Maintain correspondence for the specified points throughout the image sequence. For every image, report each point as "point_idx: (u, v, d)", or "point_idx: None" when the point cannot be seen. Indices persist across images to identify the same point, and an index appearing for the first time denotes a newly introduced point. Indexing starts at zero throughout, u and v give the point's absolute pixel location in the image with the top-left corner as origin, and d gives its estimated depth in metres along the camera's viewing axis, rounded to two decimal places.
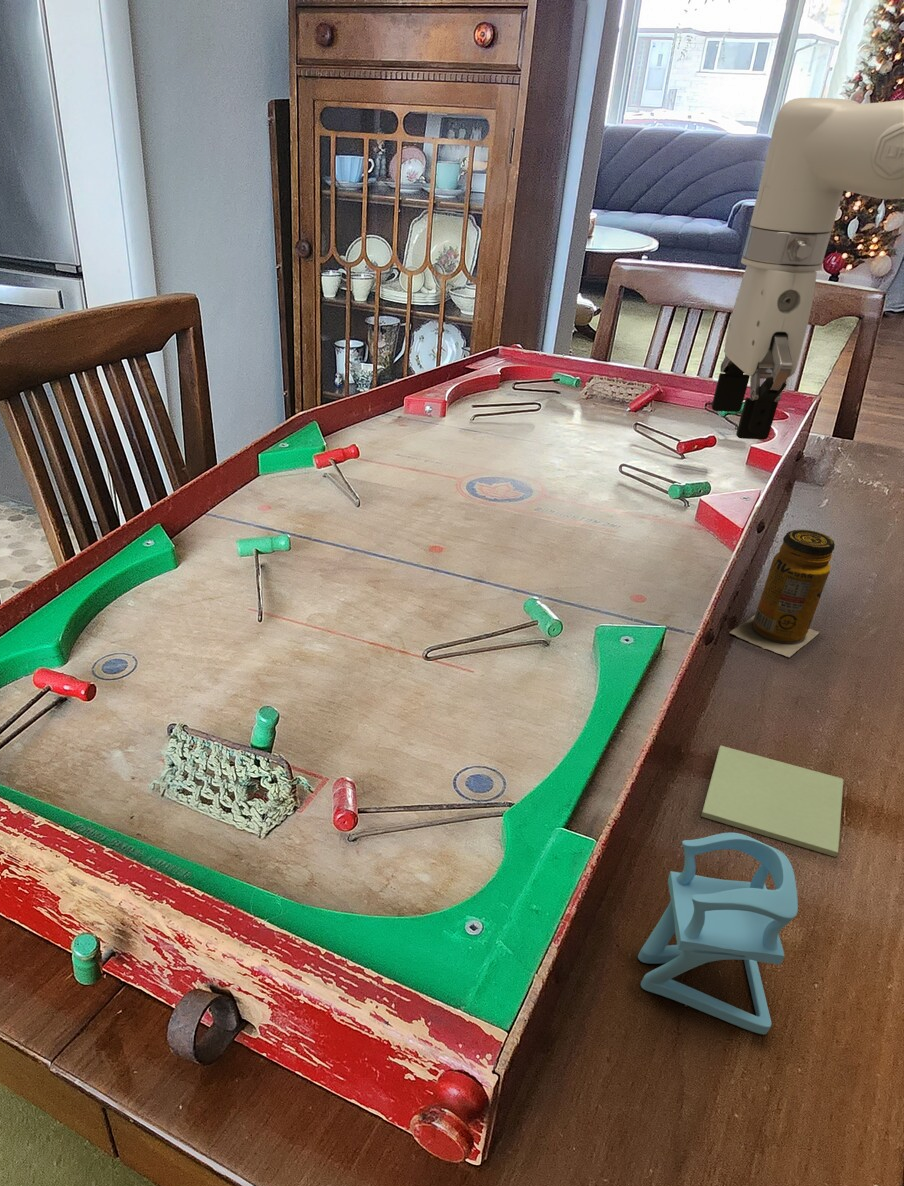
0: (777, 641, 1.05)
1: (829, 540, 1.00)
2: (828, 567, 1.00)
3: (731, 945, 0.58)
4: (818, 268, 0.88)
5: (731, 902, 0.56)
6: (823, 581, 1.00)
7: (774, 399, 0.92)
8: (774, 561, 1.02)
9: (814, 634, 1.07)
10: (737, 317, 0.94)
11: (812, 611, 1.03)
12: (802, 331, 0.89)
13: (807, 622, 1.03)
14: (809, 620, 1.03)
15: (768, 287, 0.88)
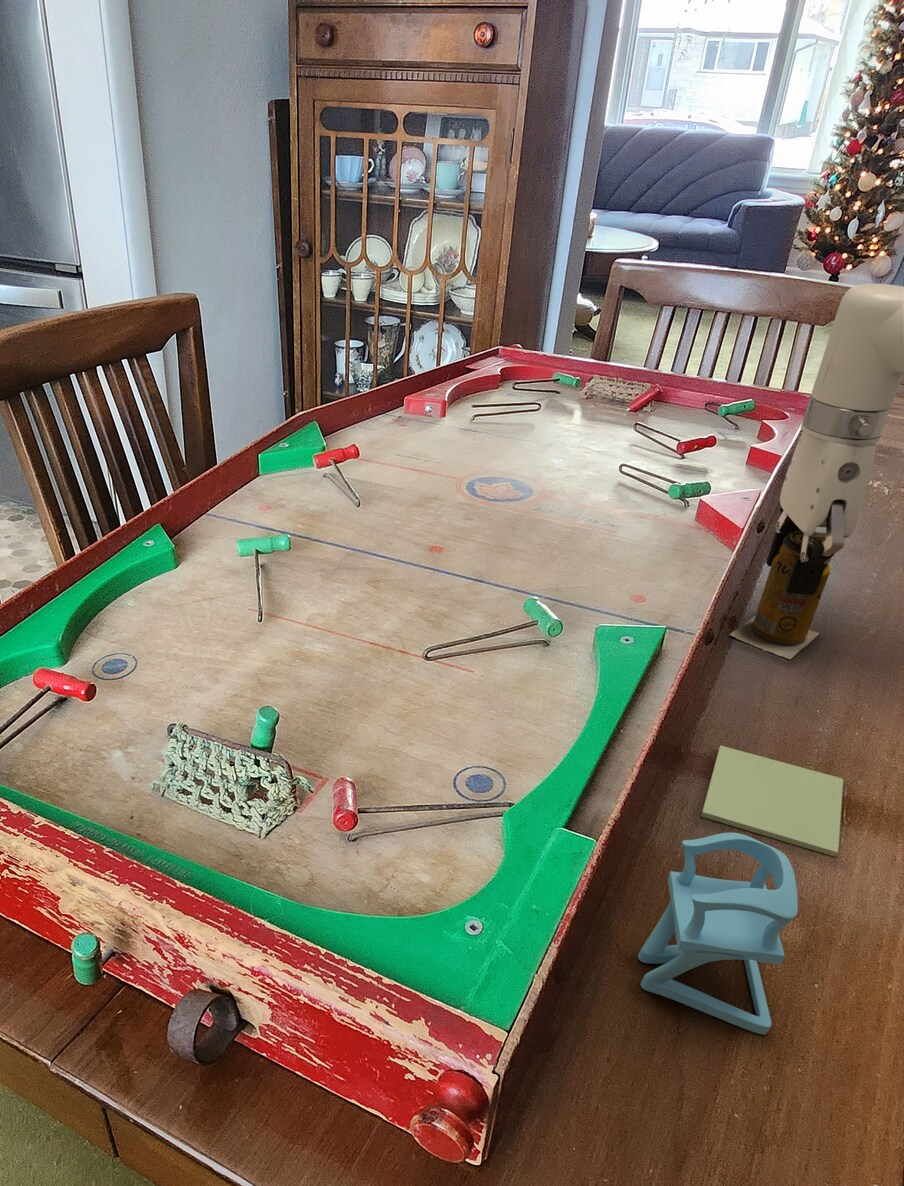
0: (777, 643, 1.04)
1: None
2: (828, 568, 1.00)
3: (731, 945, 0.58)
4: (877, 440, 0.91)
5: (731, 902, 0.56)
6: (823, 582, 1.00)
7: (822, 563, 0.96)
8: (774, 563, 1.02)
9: (814, 635, 1.06)
10: (794, 475, 0.97)
11: (812, 612, 1.02)
12: (861, 499, 0.92)
13: (807, 624, 1.03)
14: (809, 621, 1.03)
15: (829, 458, 0.91)
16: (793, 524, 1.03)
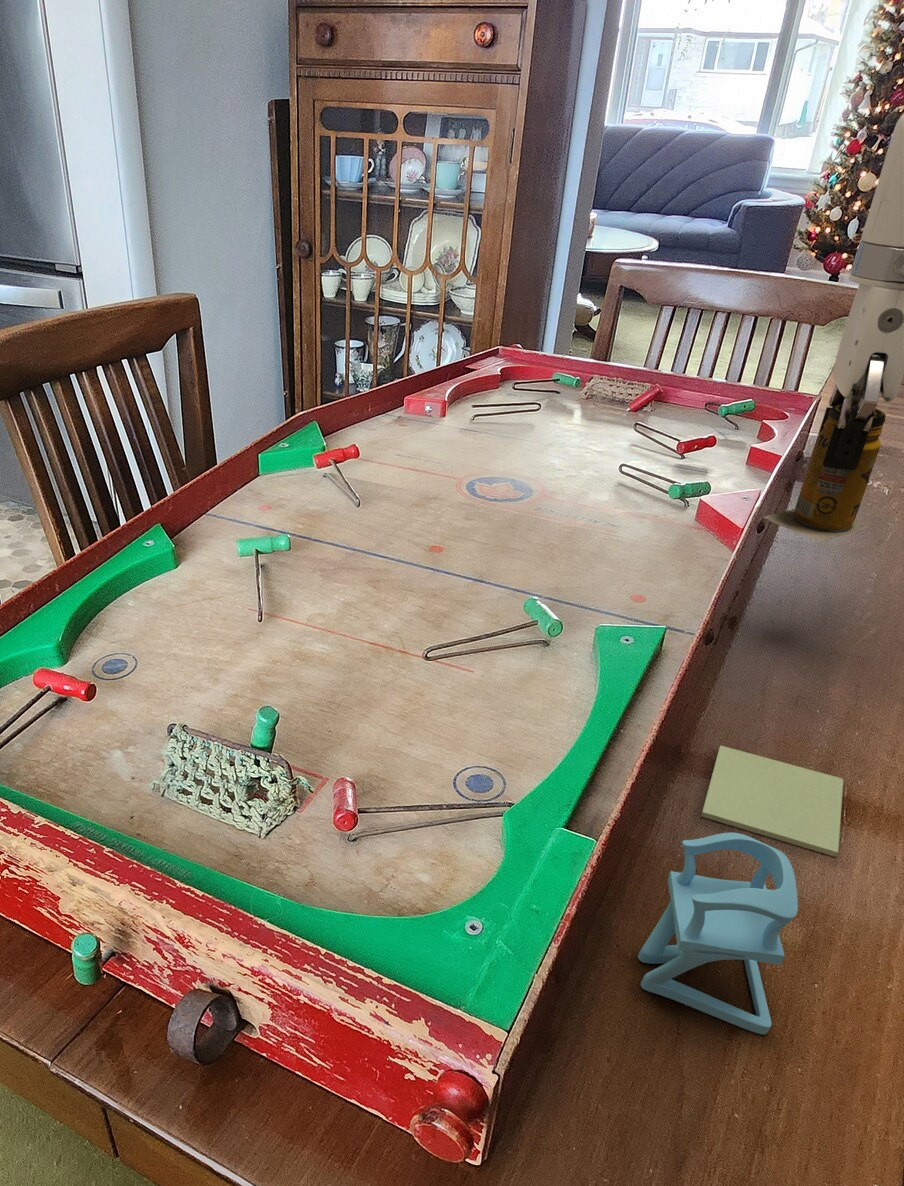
0: (815, 528, 0.96)
1: (880, 413, 0.91)
2: (876, 444, 0.91)
3: (731, 945, 0.58)
4: None
5: (731, 902, 0.56)
6: (868, 459, 0.91)
7: (862, 430, 0.88)
8: (817, 437, 0.94)
9: (863, 527, 0.97)
10: (844, 336, 0.89)
11: (856, 495, 0.94)
12: None
13: (850, 507, 0.94)
14: (853, 506, 0.94)
15: (869, 305, 0.83)
16: None
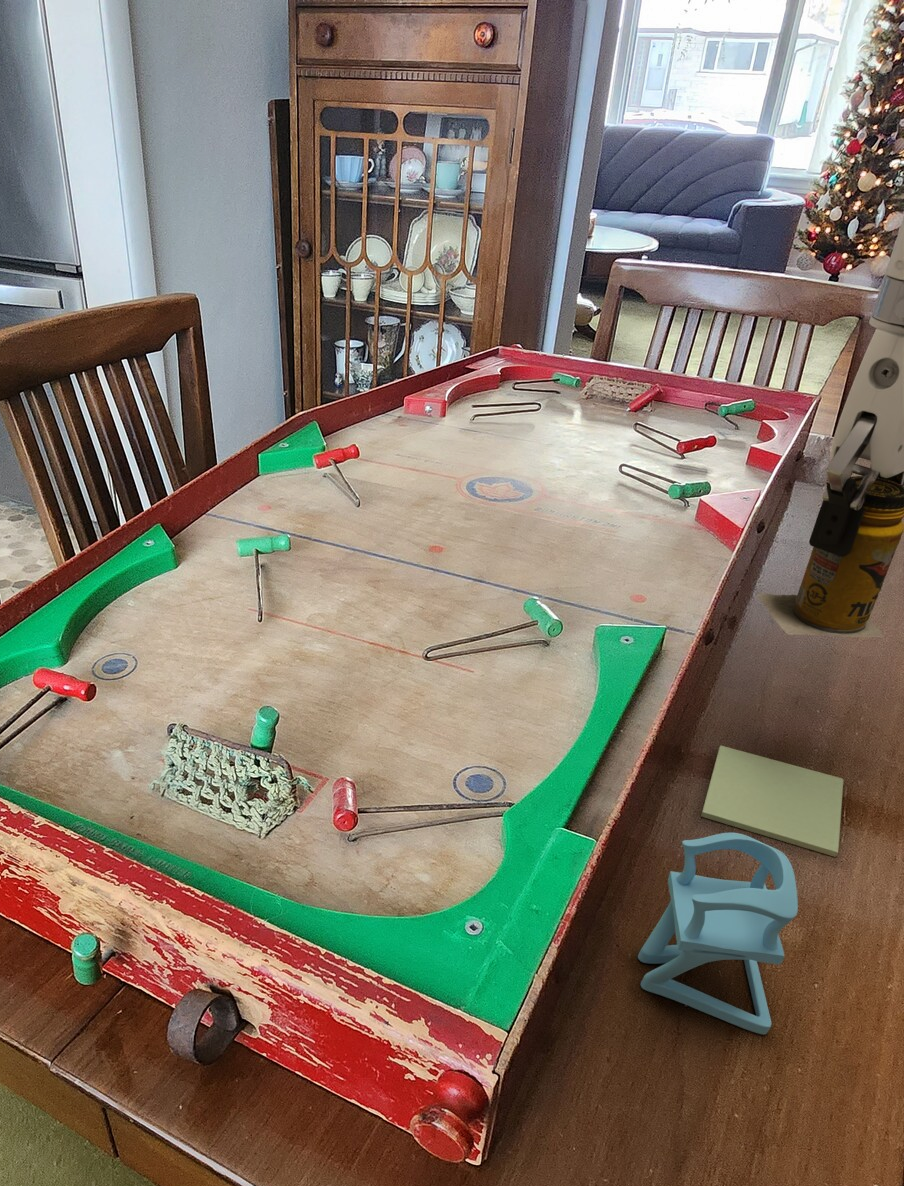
0: (803, 620, 0.78)
1: (900, 494, 0.71)
2: (885, 531, 0.72)
3: (731, 945, 0.58)
4: None
5: (731, 902, 0.56)
6: (869, 547, 0.72)
7: (847, 507, 0.70)
8: None
9: (874, 635, 0.77)
10: None
11: (854, 590, 0.75)
12: (898, 417, 0.65)
13: (844, 604, 0.75)
14: (850, 603, 0.75)
15: (866, 351, 0.66)
16: None
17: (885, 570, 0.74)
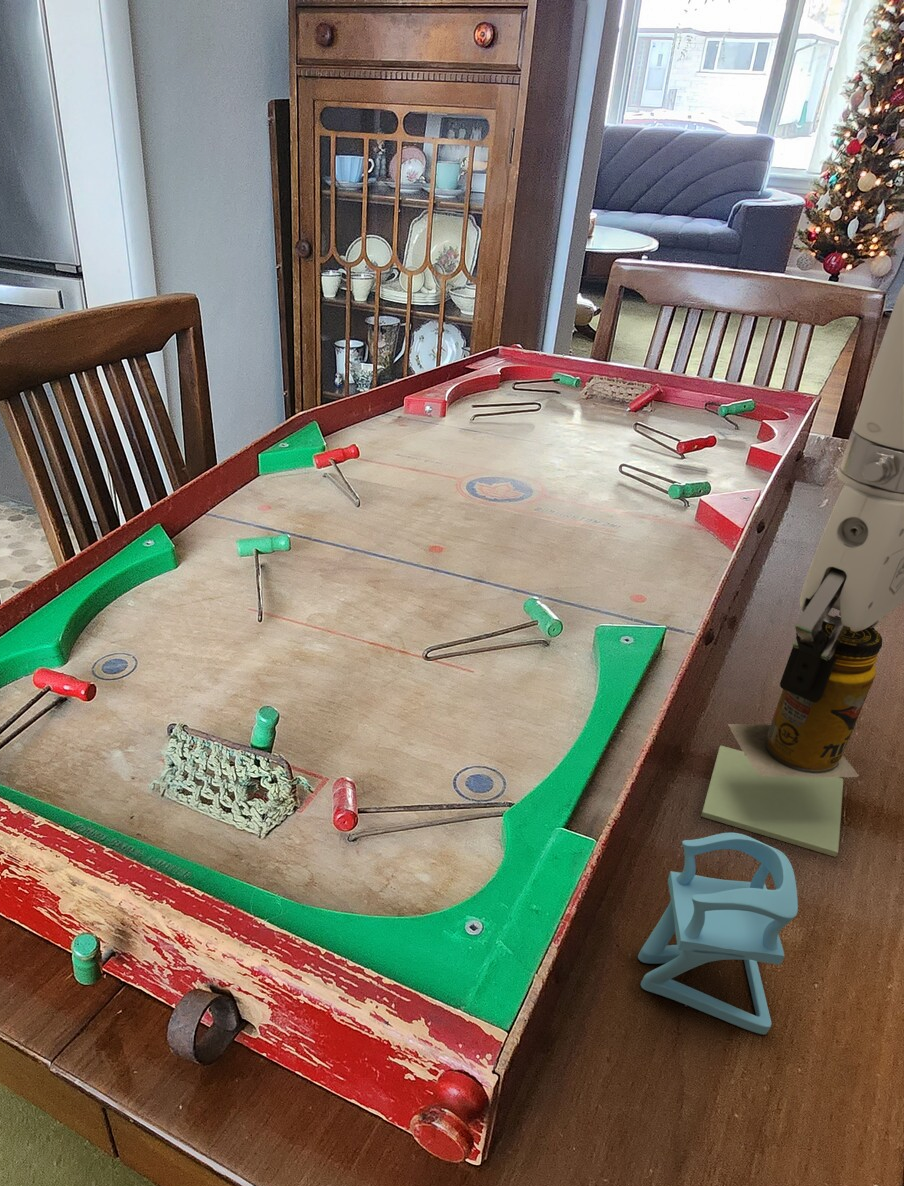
0: (775, 757, 0.77)
1: (871, 641, 0.69)
2: (857, 678, 0.70)
3: (731, 945, 0.58)
4: None
5: (731, 902, 0.56)
6: (840, 693, 0.71)
7: (818, 657, 0.69)
8: None
9: (847, 775, 0.75)
10: None
11: (826, 733, 0.73)
12: (868, 577, 0.63)
13: (816, 746, 0.74)
14: (822, 745, 0.73)
15: None
16: None
17: (857, 713, 0.72)
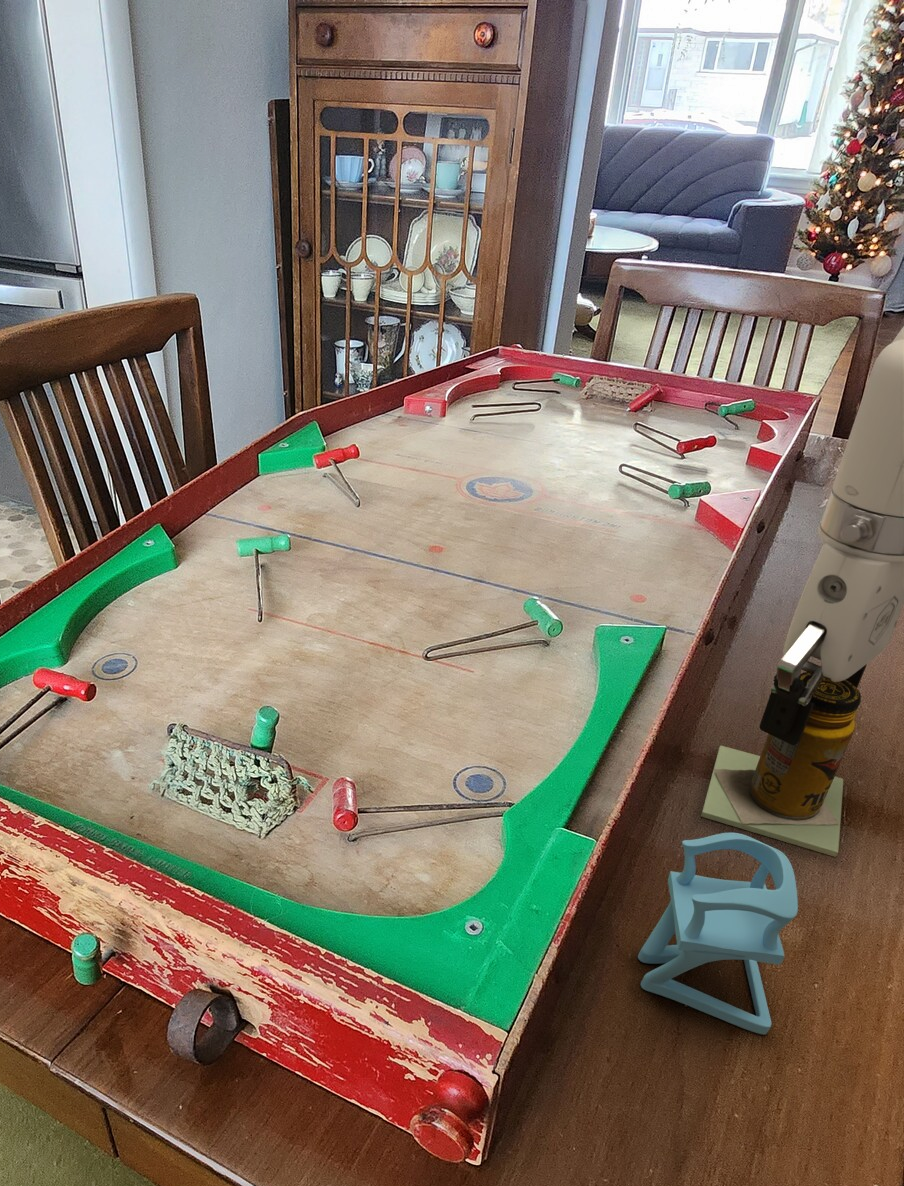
0: (758, 804, 0.80)
1: (850, 698, 0.72)
2: (836, 733, 0.73)
3: (731, 945, 0.58)
4: (898, 559, 0.64)
5: (731, 902, 0.56)
6: (820, 747, 0.74)
7: (796, 701, 0.70)
8: None
9: (827, 822, 0.78)
10: None
11: (807, 784, 0.76)
12: (847, 632, 0.66)
13: (798, 795, 0.77)
14: (803, 794, 0.76)
15: (815, 563, 0.67)
16: None
17: (837, 764, 0.75)
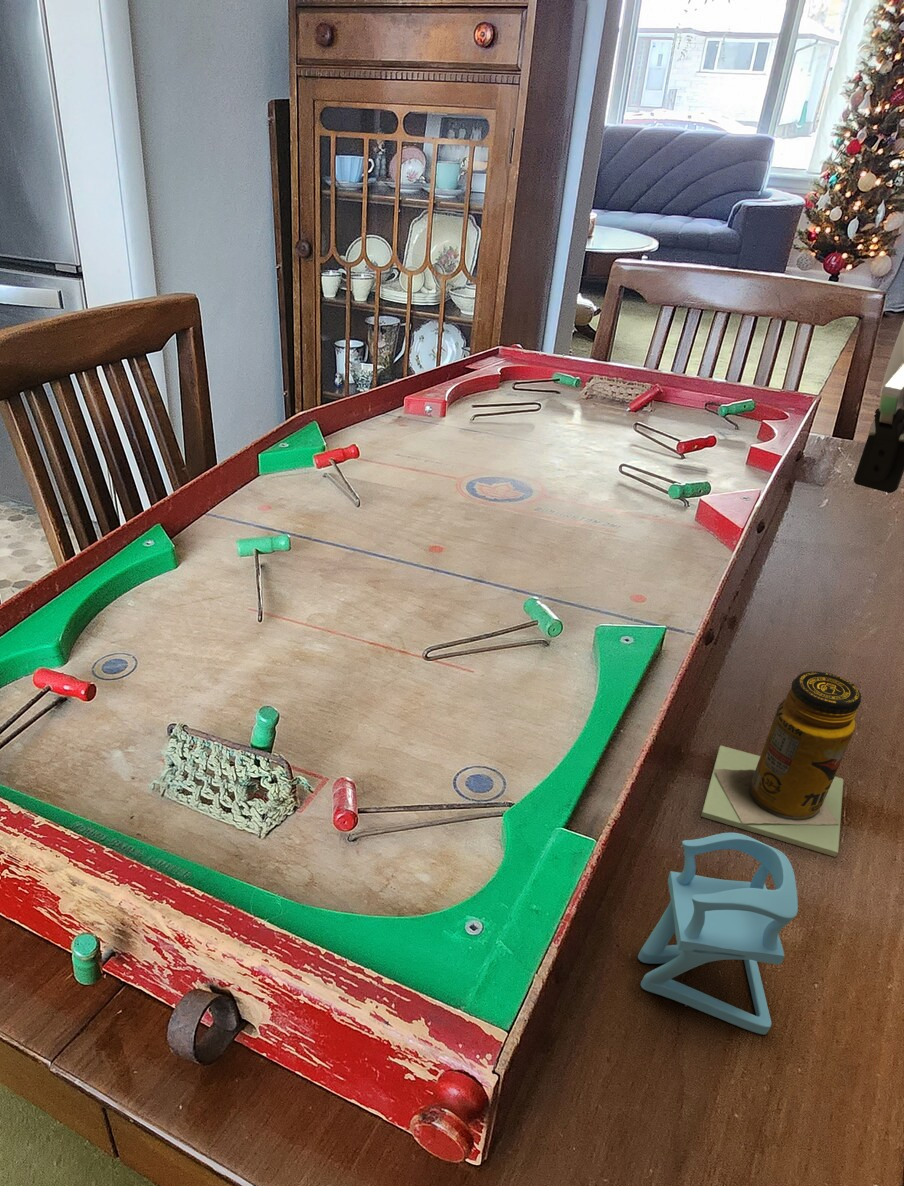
0: (758, 804, 0.80)
1: (850, 698, 0.72)
2: (836, 733, 0.73)
3: (731, 945, 0.58)
4: None
5: (731, 902, 0.56)
6: (821, 747, 0.74)
7: (896, 438, 0.68)
8: (783, 701, 0.77)
9: (827, 822, 0.78)
10: None
11: (807, 784, 0.76)
12: None
13: (798, 795, 0.77)
14: (803, 794, 0.76)
15: None
16: None
17: (837, 764, 0.75)
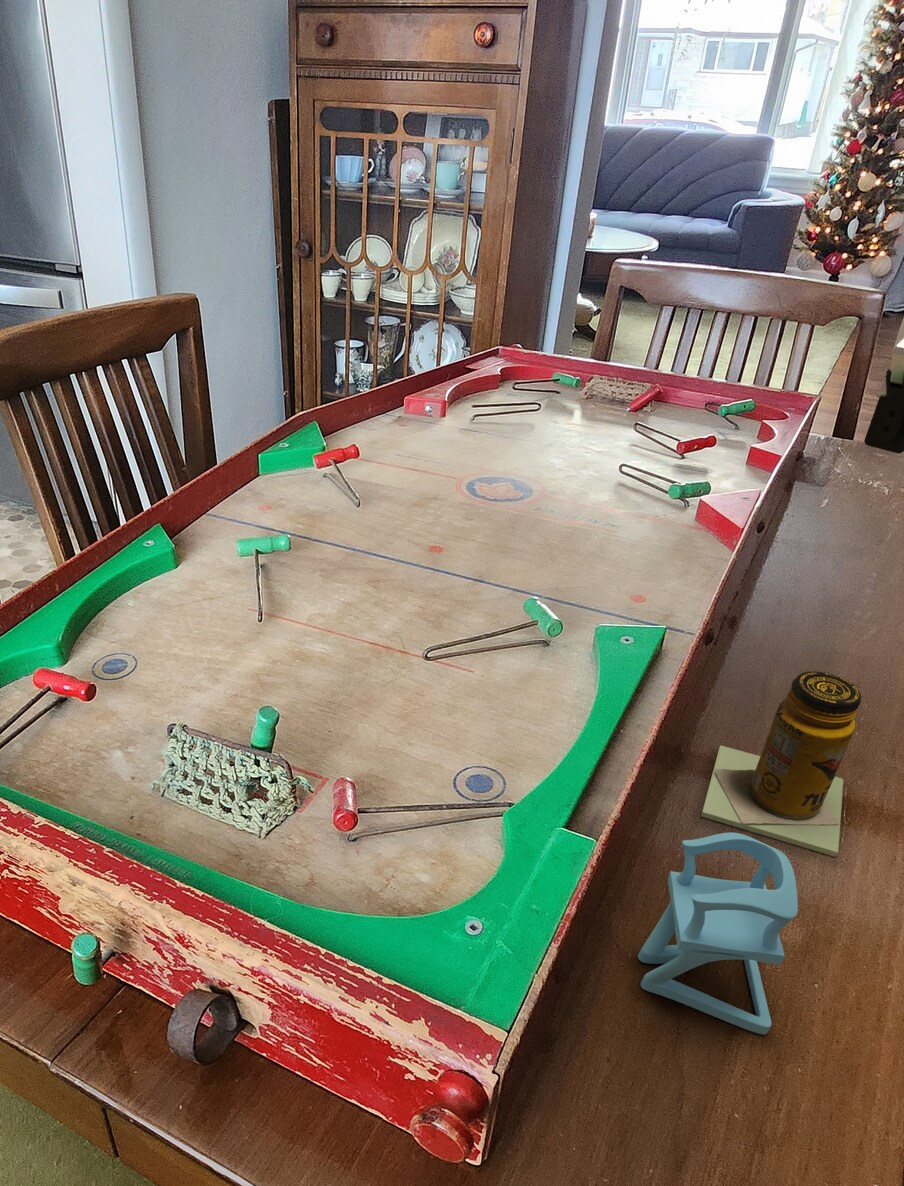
0: (758, 804, 0.80)
1: (850, 698, 0.72)
2: (836, 733, 0.73)
3: (731, 945, 0.58)
4: None
5: (731, 902, 0.56)
6: (821, 747, 0.74)
7: None
8: (783, 701, 0.77)
9: (827, 822, 0.78)
10: None
11: (807, 784, 0.76)
12: None
13: (798, 795, 0.77)
14: (803, 794, 0.76)
15: None
16: None
17: (837, 764, 0.75)
